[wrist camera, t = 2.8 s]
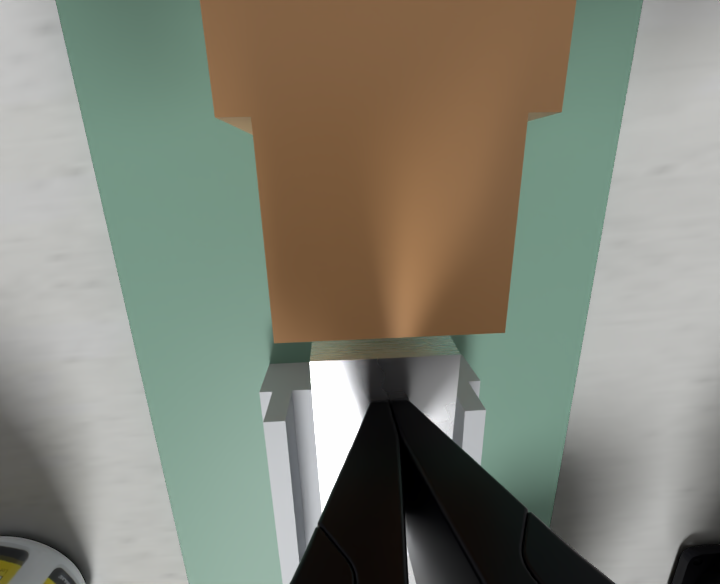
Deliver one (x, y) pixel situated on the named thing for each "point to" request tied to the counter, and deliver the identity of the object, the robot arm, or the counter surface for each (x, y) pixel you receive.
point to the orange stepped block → (387, 152)
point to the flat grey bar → (377, 391)
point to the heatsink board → (251, 294)
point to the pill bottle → (34, 563)
